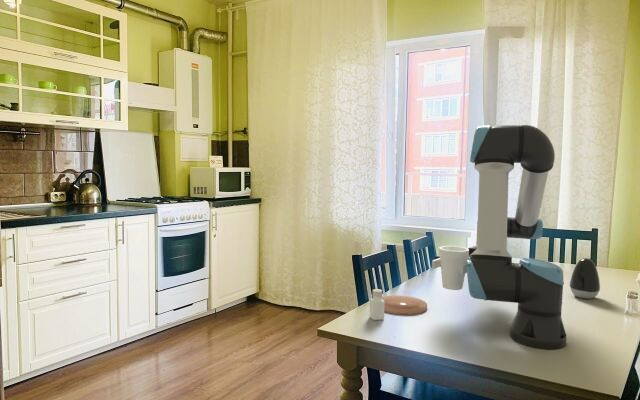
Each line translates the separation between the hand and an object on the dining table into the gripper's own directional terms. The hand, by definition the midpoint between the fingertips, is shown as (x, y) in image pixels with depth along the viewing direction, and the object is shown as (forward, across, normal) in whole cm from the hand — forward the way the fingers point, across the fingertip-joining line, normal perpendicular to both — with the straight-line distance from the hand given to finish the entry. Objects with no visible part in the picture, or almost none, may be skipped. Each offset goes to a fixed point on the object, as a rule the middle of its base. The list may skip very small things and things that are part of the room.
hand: (447, 267), depth 150 cm
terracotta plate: (-3, +18, -18) cm, 26 cm away
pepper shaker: (+13, +18, -18) cm, 29 cm away
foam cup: (-4, 0, -8) cm, 9 cm away
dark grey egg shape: (-62, -27, -18) cm, 70 cm away
